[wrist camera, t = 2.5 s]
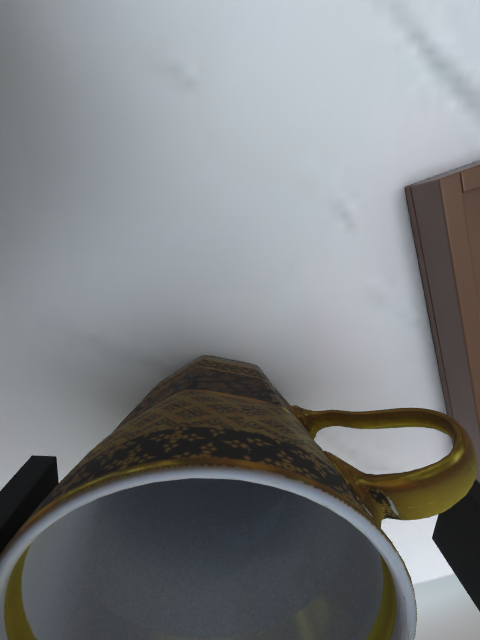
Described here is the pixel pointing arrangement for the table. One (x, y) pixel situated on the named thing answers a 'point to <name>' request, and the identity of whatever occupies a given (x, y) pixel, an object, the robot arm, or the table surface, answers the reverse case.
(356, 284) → the table surface
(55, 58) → the table surface
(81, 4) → the table surface
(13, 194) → the table surface
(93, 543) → the ceramic cup
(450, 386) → the tray
